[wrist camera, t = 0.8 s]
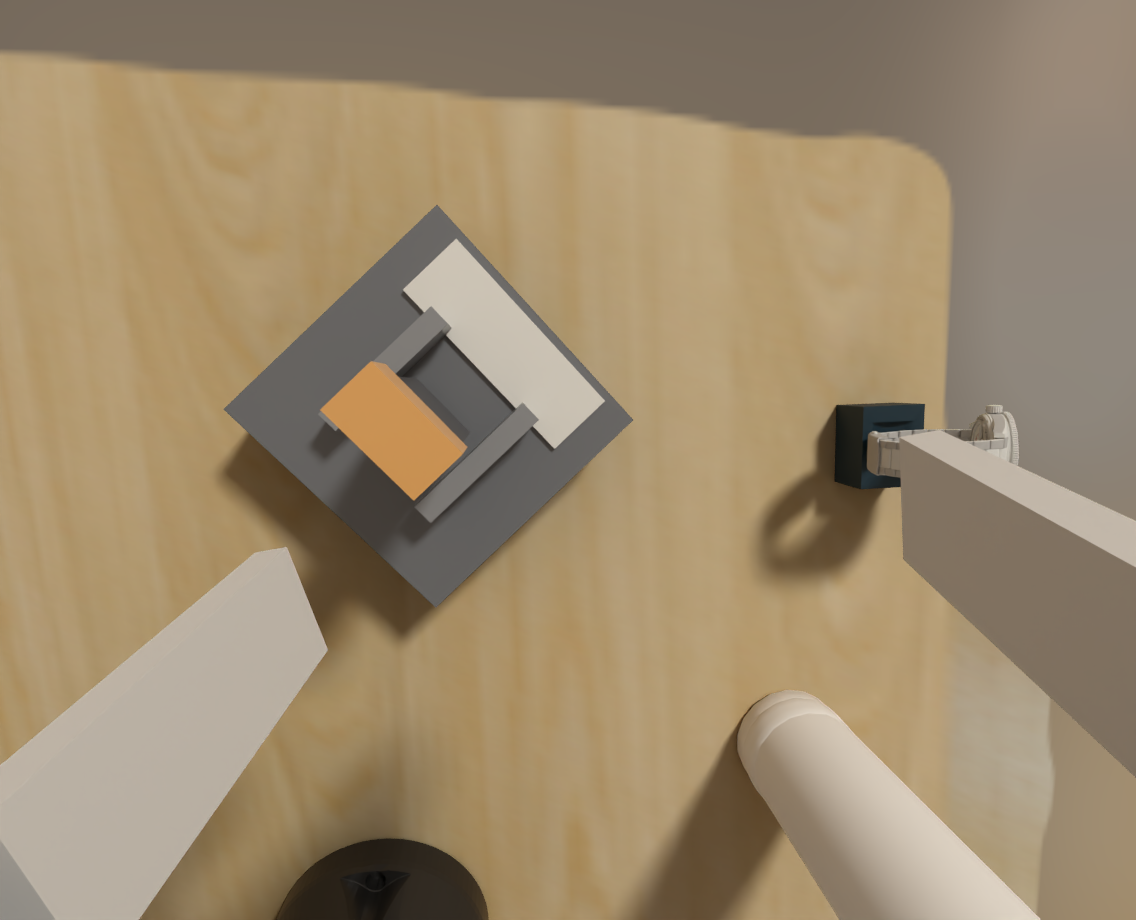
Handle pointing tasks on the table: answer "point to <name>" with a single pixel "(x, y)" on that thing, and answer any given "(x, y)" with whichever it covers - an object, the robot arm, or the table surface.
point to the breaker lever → (398, 426)
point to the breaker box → (459, 381)
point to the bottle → (862, 821)
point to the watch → (876, 428)
